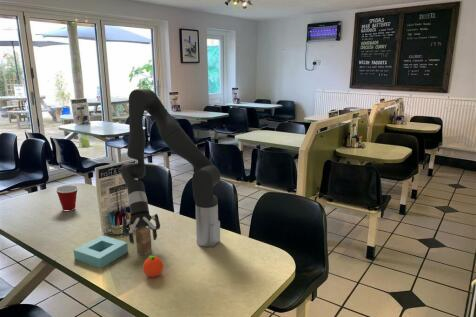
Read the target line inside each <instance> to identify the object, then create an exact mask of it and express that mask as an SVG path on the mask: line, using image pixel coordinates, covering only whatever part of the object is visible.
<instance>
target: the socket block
mask: <svg viewBox="0 0 476 317" xmlns="http://www.w3.org/2000/svg"><path fill="white" fill-rule="evenodd" d="M128 252H129V247H128V242H126V241H123V240H120V239H117V238H112V237H110V236H106V235H100V236H97V237H96V238H94V239H92V240H91V241H88V242H87V243H84V244H82V245H80V246H78V247H76V248H75V249H73V256H74V260H76V261H79V262H80V263H81V262H82V263H84V264H87V265H89V266H93V267H96V268H98V269H102V268H103V267H106V266H107V265H109V264H110V263H111V262H114V260H116V259H118V258H120V257H122V256H123V255H124V254H126V253H128Z"/></svg>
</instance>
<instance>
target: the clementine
mask: <svg viewBox="0 0 476 317" xmlns="http://www.w3.org/2000/svg"><path fill="white" fill-rule="evenodd" d="M142 266H143V267H142V269H143V272H144V274H145V275H146V276H148V277H151V278H152V277H153V278H154V277H156V276H159V275H160V274H161V273H162V271H163V268H164V263H163V260H162V259H161V257H158V256H156V255H151V254H150V255H149V256H147V258H146V259H145V260H144V262H143V265H142Z"/></svg>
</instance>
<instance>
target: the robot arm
mask: <svg viewBox="0 0 476 317" xmlns="http://www.w3.org/2000/svg"><path fill="white" fill-rule="evenodd" d="M128 96H129V97H128V122H129V126H128V128H129V129H128V130H129V132H128V133H129V135H128V144H127V151H126V155H127V157H128V158H130V159H131V160H132V159H133V160H136V161H137V162H124V163H122V165H121V167H120V174H121V176H122V179H123V182H124V184H125V186H126V189H127V196H128V197H129V208H130V214H129V216H130V218H128V219H127V218H123V219H122V224H123V235H124V236H125V235H127V236H128V239H129V243H131V244H132V245H134V244H135V242H134V234H133V233H134V232H135V231H136V229H138V228H140V227H142V226H144V227H148V228H150V231H152V238H153V241H156V239H157V238H158V234H157V230H160V229H161V222H160V219H159V218H160V217H159V215H158V214H157V213H155V214H154V215H151V214H150V209H149V208H150V207H149V204H148V203H149V202H148V198H147V195H146V190H145V189H146V188H145V184H144V182H143V181H142V180H140V179H143V178H144V177H145V176H146V172H147V169H146V165H145V164H146V163H145V150H146V134H145V131H144V126H143V122H144V121H143V119H144V114H145V112H146V113H148V114H149V116H150V117H152V119H153V120H154V122H155V123H156V125H157V128H158V133H159V136H160V138H161V139H162V141H163V142H164V143H165V145H166V146H167V147H168V148H169V150H170V151H171V152H173V154H176V155H177V156H179V157H181V158H182V159H184V160H185V161H187V162H188V163H189V164H191V166H192V167H193V168H194V169H195V171H194V172H193V174H192V178H191V180H192V181H191V182H192V183H191V184H192V186H191V187H192V196H193V200H194V202H195V230H196V232H195V234H196V236H195V237H196V244H197V245H198V246H200V247H206V248H208V247H211V248H214V247H215V246H216V245H217V244H219V243H220V242H221V221H220V220H219V206H218V205H219V202H218V201H219V199H218V196H216V195H214V187H215V186H216V185H217V184H219V183H220V181H221V173H220V170H219V168H218V167H217V166H216V165H215V164H214V163H213V162H212V161H211V160H210V159H209V158H208V157H207V156H206V155H205V154H204V153H203V152H202V151H201V150H200V149H199V147H198V146H197V145H196V143H194V141H193V140H192V139H191V138H190V137H189V135H188V134H187V133H186V131H185V130H184V129H183V128H182V127H181V126H180V124H178V122H177V121H176V119H175V118H174V117H173V116H172V115H171V113H170V112H169V111H168V110H167V109H166V107H165V105H164V104H163V102H162V101H161V99H159V97H158V95H157V93H155V92H154V91H153V90H152V89H149V88H134V89H133V90H132V91H131V92H130V93H129V95H128ZM151 220H153V221H154V222H155V225H154V224H153V223H152V222H151ZM129 223H130V224H131V227H130V229H128V225H129Z"/></svg>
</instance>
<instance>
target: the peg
mask: <svg viewBox="0 0 476 317" xmlns="http://www.w3.org/2000/svg"><path fill="white" fill-rule="evenodd" d="M135 240H136V241H135V243H136V253H137V254H140V255H143V256H146V255H148V254H149V253H151V252H153V251H152V250H153V249H152V236H151V229H150V228H148V227H147V226H146V227H144V226H142V227H140V228H136V229H135Z"/></svg>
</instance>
